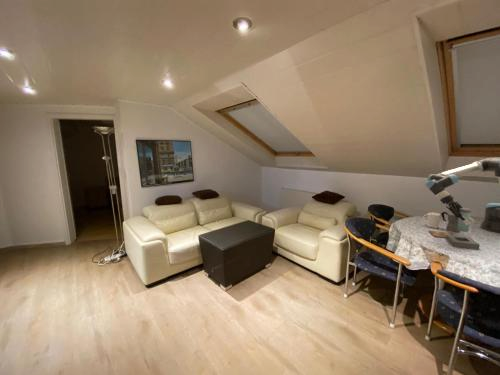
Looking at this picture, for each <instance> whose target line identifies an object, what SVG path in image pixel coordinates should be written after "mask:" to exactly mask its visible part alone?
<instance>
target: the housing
mask: <svg viewBox="0 0 500 375" xmlns="http://www.w3.org/2000/svg"><path fill="white" fill-rule="evenodd" d="M445 241H446V242H448V243H449V245H451V246H452V247H453V248H459V249H460V248H461V249H469V250H470V249H471V250H477V249H478V250H477V251H479V250H480V247H481V246H480V243H478V242H477V240H474V239H473V238H472V237H470V236H467V235H466V236H465V235H458V234H457V235H456V234H455V235H446V238H445Z"/></svg>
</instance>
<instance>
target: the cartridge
mask: <svg viewBox="0 0 500 375" xmlns="http://www.w3.org/2000/svg"><path fill="white" fill-rule="evenodd" d="M460 213H461V215H462V216H464V217H465V218H466V219H467V220H468V221H470V217H471V213H472V209H471V208H467V207H463V208H460ZM469 226H470V224H468V225H466V224H465V223H464V222H463V221H462V220H461V219H460V218H459V222H458V229H457V230H459V231H460V232H463V233H464V232H465V233H468V232H469Z"/></svg>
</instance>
